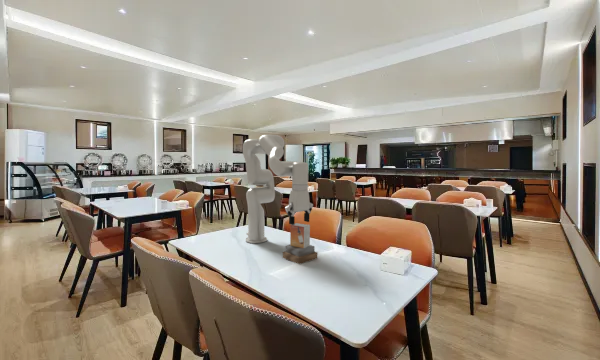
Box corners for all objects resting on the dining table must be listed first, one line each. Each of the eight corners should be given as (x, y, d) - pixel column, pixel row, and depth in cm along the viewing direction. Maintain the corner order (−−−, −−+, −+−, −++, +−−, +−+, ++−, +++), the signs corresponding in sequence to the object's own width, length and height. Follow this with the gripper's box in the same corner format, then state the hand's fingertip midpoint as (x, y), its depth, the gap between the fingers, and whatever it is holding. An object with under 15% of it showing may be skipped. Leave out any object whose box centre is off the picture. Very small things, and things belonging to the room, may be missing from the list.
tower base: (282, 257, 144) (282, 245, 143) (300, 252, 152) (300, 241, 151) (299, 264, 135) (299, 251, 134) (317, 258, 143) (317, 246, 142)
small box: (290, 246, 143) (290, 224, 142) (296, 243, 148) (296, 222, 147) (304, 248, 139) (304, 226, 138) (310, 245, 143) (310, 224, 143)
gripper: (307, 186, 150) (307, 219, 151) (280, 188, 138) (280, 224, 139) (318, 187, 144) (317, 221, 145) (291, 189, 133) (290, 227, 134)
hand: (299, 222), depth 142 cm, fingers open, 9 cm apart
